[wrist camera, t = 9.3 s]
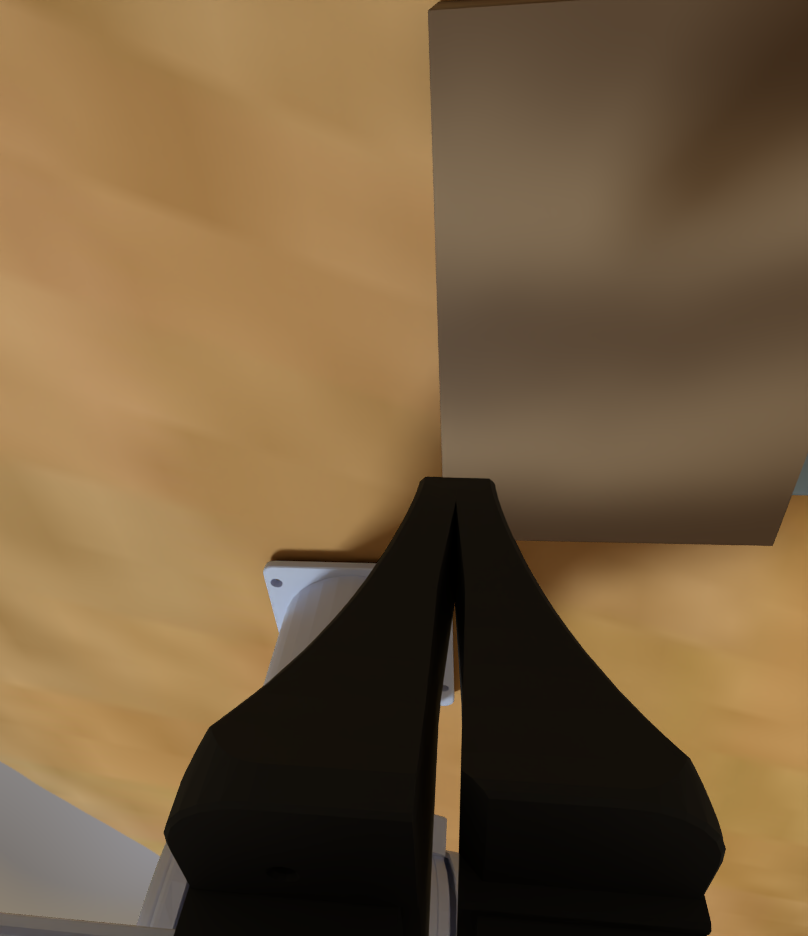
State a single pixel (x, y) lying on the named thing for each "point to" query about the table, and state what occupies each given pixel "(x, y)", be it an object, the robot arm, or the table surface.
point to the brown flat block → (623, 262)
